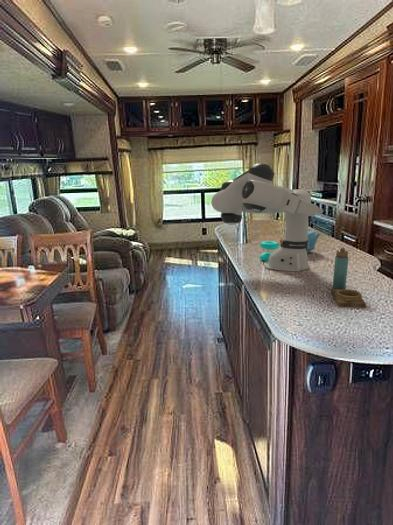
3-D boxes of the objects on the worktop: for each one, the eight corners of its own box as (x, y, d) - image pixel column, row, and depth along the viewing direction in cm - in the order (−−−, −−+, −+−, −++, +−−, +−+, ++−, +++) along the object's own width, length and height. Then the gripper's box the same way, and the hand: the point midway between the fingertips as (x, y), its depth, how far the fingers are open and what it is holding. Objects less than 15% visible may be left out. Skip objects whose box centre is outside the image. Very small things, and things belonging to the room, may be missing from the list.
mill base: (337, 306, 130) (338, 298, 129) (331, 292, 144) (331, 285, 143) (365, 307, 128) (366, 299, 127) (356, 293, 142) (356, 286, 141)
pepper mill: (333, 290, 145) (337, 248, 141) (331, 287, 150) (335, 246, 146) (346, 291, 144) (350, 249, 140) (344, 287, 149) (348, 246, 145)
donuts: (281, 241, 196) (276, 244, 187) (280, 258, 199) (275, 262, 190) (263, 239, 200) (258, 243, 192) (263, 256, 203) (257, 260, 195)
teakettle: (292, 257, 202) (293, 231, 198) (280, 249, 220) (281, 226, 216) (323, 255, 204) (325, 230, 201) (308, 248, 222) (310, 225, 219)
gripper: (271, 202, 143) (301, 210, 147) (292, 214, 125) (325, 223, 128) (277, 187, 141) (307, 195, 145) (298, 197, 123) (332, 206, 126)
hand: (316, 208), depth 136 cm, fingers open, 8 cm apart
